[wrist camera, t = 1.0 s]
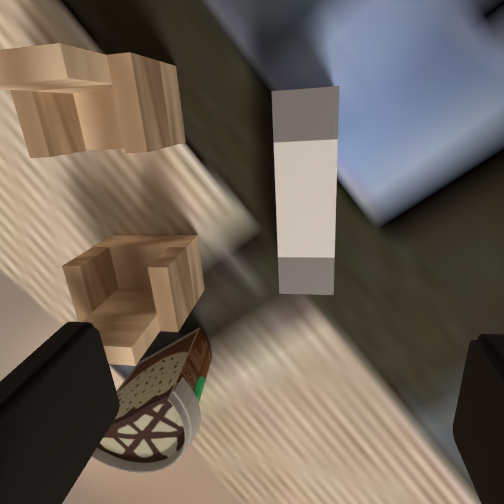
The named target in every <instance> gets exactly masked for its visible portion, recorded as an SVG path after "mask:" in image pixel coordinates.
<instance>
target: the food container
mask: <svg viewBox="0 0 504 504" xmlns="http://www.w3.org/2000/svg"><path fill="white" fill-rule="evenodd" d="M211 358H212V351H211V345H210V343H209V340H208V338H207V336H206V334H205V333H204V331H203V330H202V329H201V327H200V328H198V329H196V330H194V331H193V332H191V333H189V334H187V335H186V336H184V337H182V338H180V339H179V340H177V341H175V342H173V343H172V344H170V345H168V346H166V347H165V348H163V349H161V350H159V351H158V352H156V353H154V354H153V355H151V356H149V357H147V358H146V359H144V360H142V361H140V362H139V363H138V364H137V365H136V366H135V368H134V369H133V370H132V372H131V373H130V374H129V376H128V377H127V378H126V380H125V381H124V382H123V383H122V385H121V386H120V387H119V389H118V390H117V391H116V392H117V395H118V399H119V403H120V405H119V411H118V414H117V416H116V418H115V419H114V421H113V423H112V424H111V426H110V427H109V429H108V431H107V432H106V434H105V435H104V437H103V439H102V440H101V442H100V444H99V445H98V447H97V448H96V450H95V452H94V453H93V455H92V456H91V457H92V458H94V459H96V460H97V461H99V462H101V463H104V464H106V465H108V466H111V467H113V468H116V469H119V470H124V471H128V472H137V473H148V472H155V471H159V470H162V469H165V468H166V467H169V466H171V465H172V464H173V463H174V462H176V461H177V459H178V458H180V457H181V456H182V455H183V454H184V453H185V451H186V450H187V449H188V447H189V446H190V444H191V443H192V441H193V440H194V438H195V437H196V434H197V432H198V430H199V427H200V422H201V413H200V408H199V400H200V397H201V394H202V390H203V387H204V383H205V380H206V377H207V373H208V370H209V366H210V363H211Z"/></svg>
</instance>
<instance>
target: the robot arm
mask: <svg viewBox="0 0 504 504" xmlns="http://www.w3.org/2000/svg"><path fill="white" fill-rule="evenodd" d="M119 405H120V403H119V399H118V395H117V392H116V388H115V385H114V381H113V378H112V374H111V371H110V367H109V364H108V360H107V357H106V353H105V350H104V346H103V343H102V339H101V336H100V332H99V330H98V329H97V328H95V327H94V325H93V324H92V323H90V322H68V323H66V324H64V325H63V326H62V327H61V328H60V329H59V330H58V331H57V332H55V333H54V334H53V335H52V336H51V337H50V338H49V339H48V340H46V341H45V342H44V343H43V344H42V345H41V346H40V347H39V348H37V349H36V350H35V351H34V352H33V353H32V354H31V355H30V356H29V357H27V358H26V359H25V360H24V361H23V362H22V363H21V364H19V365H18V366H17V367H16V368H15V369H14V370H13V371H12V372H11V373H9V374H8V375H7V376H6V377H5V378H4V379H3V380H2V381H0V504H62V503H63V501H64V500H65V498H66V496H67V495H68V493H69V492H70V490H71V488H72V487H73V485H74V483H75V482H76V480H77V479H78V477H79V476H80V474H81V472H82V470H83V469H84V468H85V466H86V464H87V463H88V461H89V460H90V458H91V456H92V455H93V453H94V452H95V450H96V448H97V447H98V445H99V444H100V442H101V440H102V439H103V437H104V435H105V434H106V432H107V431H108V429H109V427H110V426H111V424H112V423H113V421H114V419H115V418H116V416H117V414H118V411H119ZM453 435H454V440H455V443H456V445H457V448H458V450H459V452H460V454H461V457H462V459H463V461H464V464H465V466H466V468H467V471H468V473H469V475H470V478H471V480H472V482H473V485H474V487H475V489H476V492H477V494H478V496H479V499H480V501H481V503H482V504H504V334H481V335H480V336H479V337H478V339H477V340H472V341H471V342H470V344H469V348H468V353H467V358H466V363H465V368H464V373H463V378H462V383H461V388H460V393H459V398H458V403H457V408H456V413H455V418H454V423H453Z"/></svg>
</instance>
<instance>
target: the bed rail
mask: <svg viewBox="0 0 504 504" xmlns="http://www.w3.org/2000/svg"><path fill="white" fill-rule="evenodd" d="M338 107H339V86H332V87H320V88H307V89H295V90H282V91H272V114H273V139H274V165H275V191H276V216H277V242H278V267H279V293H280V294H318V295H333V293H334V256H335V219H336V181H337V144H338Z"/></svg>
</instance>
